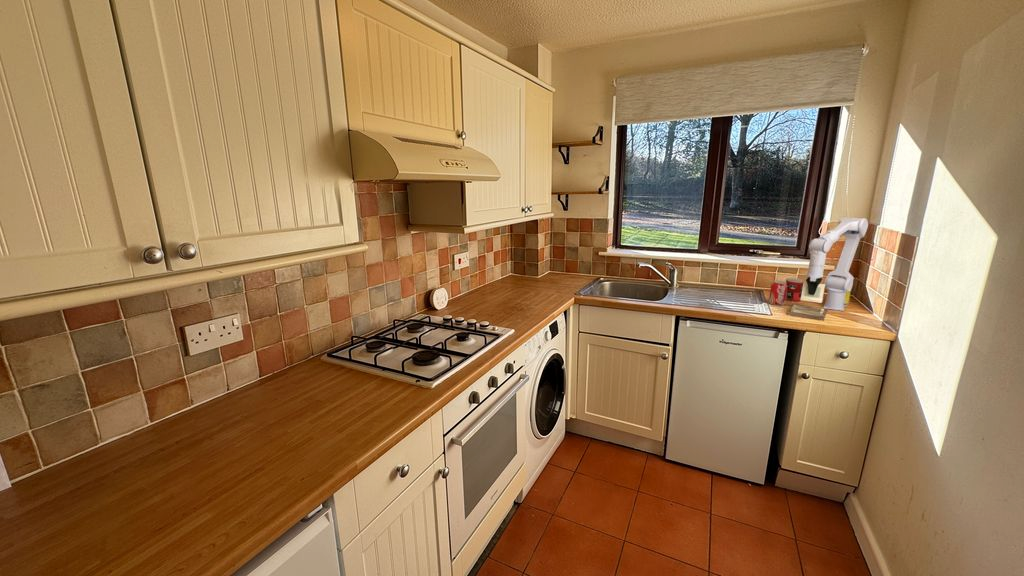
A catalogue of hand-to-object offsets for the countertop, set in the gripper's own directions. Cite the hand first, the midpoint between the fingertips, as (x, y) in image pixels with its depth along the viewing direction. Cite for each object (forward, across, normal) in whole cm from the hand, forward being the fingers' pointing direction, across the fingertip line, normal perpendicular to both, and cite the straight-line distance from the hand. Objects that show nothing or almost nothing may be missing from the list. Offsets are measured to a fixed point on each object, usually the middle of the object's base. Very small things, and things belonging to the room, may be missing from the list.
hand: (811, 293), depth 193 cm
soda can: (+10, -9, -14) cm, 20 cm away
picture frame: (+3, 0, 0) cm, 3 cm away
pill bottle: (+10, -29, +11) cm, 33 cm away
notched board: (+10, -2, -1) cm, 10 cm away
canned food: (+10, -24, -10) cm, 28 cm away
